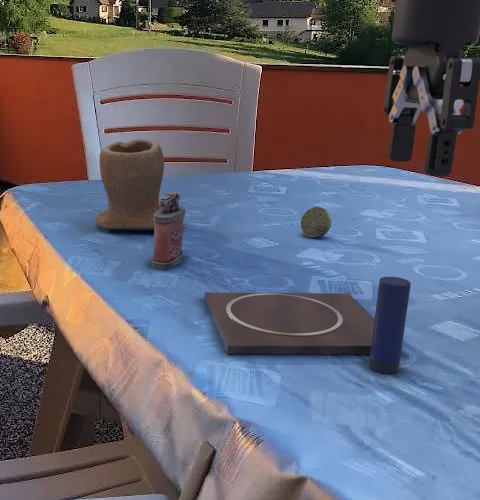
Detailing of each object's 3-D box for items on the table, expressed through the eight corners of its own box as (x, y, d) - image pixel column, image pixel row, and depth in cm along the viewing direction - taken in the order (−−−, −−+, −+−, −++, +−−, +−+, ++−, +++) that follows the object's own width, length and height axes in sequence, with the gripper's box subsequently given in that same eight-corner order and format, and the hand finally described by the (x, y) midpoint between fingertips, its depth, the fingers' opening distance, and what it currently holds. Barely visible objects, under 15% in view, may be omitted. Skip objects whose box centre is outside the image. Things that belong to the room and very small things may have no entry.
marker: (391, 361, 71) (403, 276, 68) (403, 374, 68) (416, 285, 66) (364, 361, 71) (375, 276, 68) (375, 374, 68) (386, 285, 66)
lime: (330, 240, 115) (333, 211, 114) (300, 238, 116) (302, 208, 115) (328, 234, 120) (331, 205, 118) (299, 232, 120) (302, 203, 119)
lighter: (165, 252, 106) (168, 187, 104) (187, 255, 105) (190, 189, 102) (147, 267, 99) (149, 197, 96) (169, 270, 98) (172, 199, 95)
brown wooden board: (348, 300, 88) (349, 292, 88) (400, 355, 73) (402, 344, 72) (204, 299, 87) (204, 291, 87) (226, 354, 72) (227, 344, 71)
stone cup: (91, 237, 114) (91, 143, 110) (99, 219, 125) (99, 134, 121) (185, 240, 113) (189, 147, 109) (184, 223, 125) (188, 137, 120)
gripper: (525, -15, 58) (493, 182, 62) (444, -3, 71) (422, 157, 76) (436, -17, 57) (409, 180, 62) (371, -5, 71) (353, 156, 76)
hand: (416, 167), depth 69 cm, fingers open, 8 cm apart
